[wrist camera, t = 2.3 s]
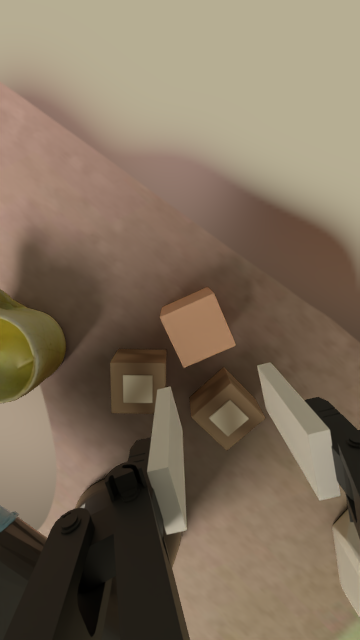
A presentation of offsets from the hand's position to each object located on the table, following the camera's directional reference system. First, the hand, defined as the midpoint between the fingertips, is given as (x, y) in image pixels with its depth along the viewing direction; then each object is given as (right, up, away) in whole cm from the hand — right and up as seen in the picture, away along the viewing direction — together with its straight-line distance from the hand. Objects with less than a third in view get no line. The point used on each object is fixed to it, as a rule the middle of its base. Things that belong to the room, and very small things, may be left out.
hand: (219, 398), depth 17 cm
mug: (-21, +3, +20) cm, 29 cm away
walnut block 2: (+3, -6, +23) cm, 24 cm away
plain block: (0, +4, +20) cm, 21 cm away
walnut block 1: (-7, -2, +22) cm, 23 cm away
